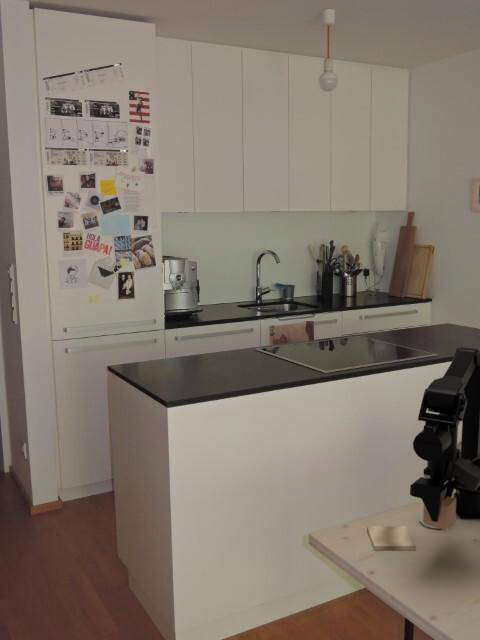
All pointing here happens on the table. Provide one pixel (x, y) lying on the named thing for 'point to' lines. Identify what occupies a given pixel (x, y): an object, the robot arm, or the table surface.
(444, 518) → the cube
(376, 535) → the coaster
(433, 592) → the table surface
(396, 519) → the table surface
